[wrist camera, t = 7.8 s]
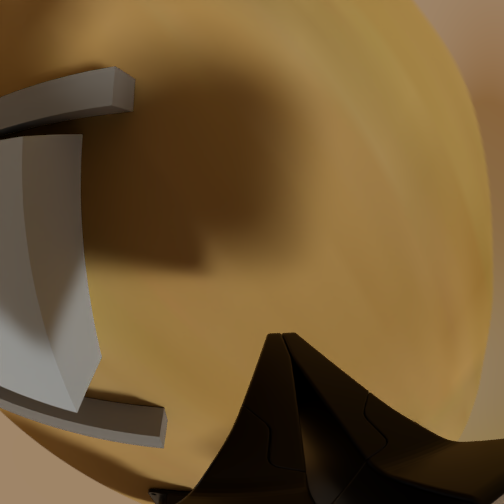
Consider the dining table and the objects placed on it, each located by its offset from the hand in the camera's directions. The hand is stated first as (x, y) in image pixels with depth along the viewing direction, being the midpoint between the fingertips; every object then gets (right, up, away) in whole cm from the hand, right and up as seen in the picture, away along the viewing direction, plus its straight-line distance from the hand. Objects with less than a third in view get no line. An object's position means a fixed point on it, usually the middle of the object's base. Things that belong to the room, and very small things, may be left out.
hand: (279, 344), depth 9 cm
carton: (-12, +3, +2) cm, 12 cm away
